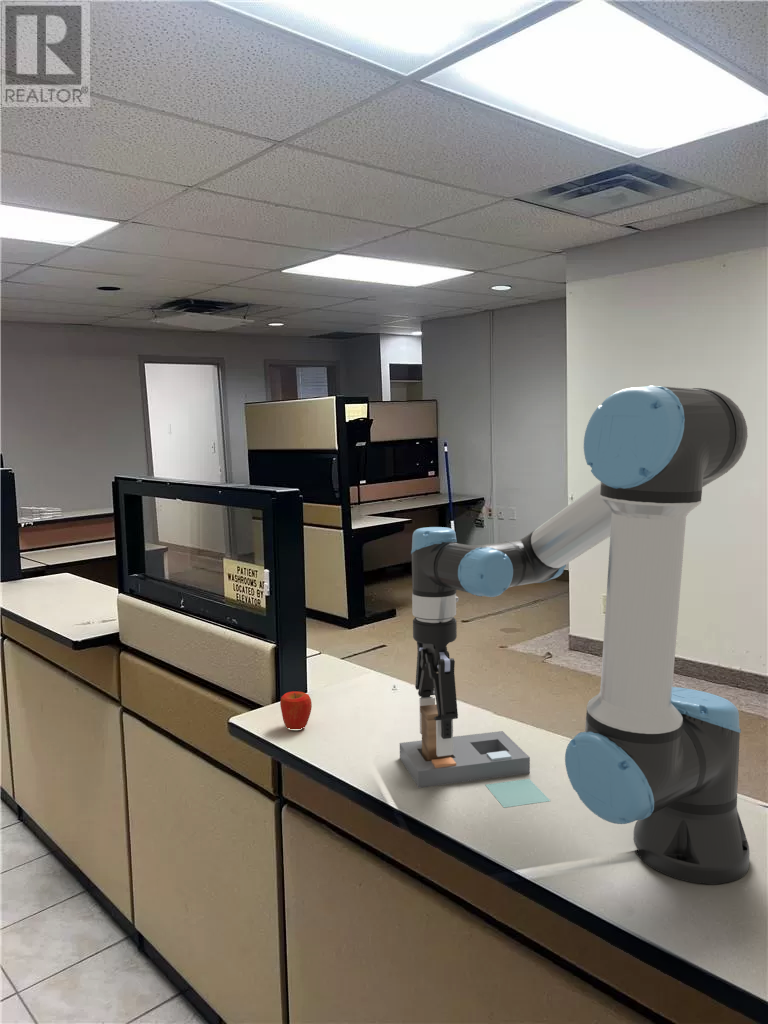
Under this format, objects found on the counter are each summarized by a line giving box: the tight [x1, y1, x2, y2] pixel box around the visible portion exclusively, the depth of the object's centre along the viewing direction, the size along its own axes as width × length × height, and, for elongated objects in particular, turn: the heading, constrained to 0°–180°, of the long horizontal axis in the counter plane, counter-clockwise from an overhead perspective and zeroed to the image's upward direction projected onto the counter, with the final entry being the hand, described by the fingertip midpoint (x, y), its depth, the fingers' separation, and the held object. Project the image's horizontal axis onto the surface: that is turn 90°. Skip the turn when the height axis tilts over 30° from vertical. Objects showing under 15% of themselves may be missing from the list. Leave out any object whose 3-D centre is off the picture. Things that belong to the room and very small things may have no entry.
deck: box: [484, 778, 551, 809], centre depth 121 cm, size 8×8×1 cm
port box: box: [399, 730, 531, 789], centre depth 132 cm, size 12×20×4 cm, turn 104°
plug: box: [419, 703, 451, 761], centre depth 130 cm, size 4×4×12 cm
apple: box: [279, 691, 313, 729], centre depth 153 cm, size 6×6×8 cm
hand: (435, 743), depth 130 cm, fingers open, 9 cm apart
